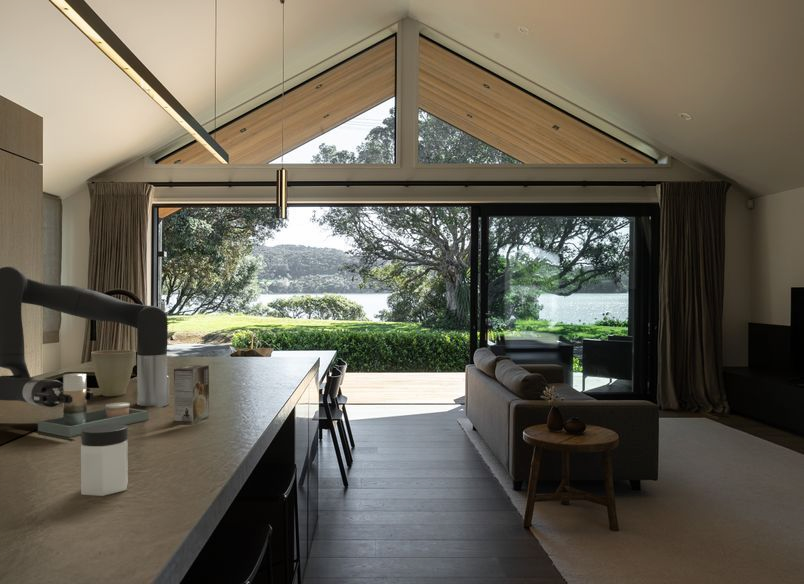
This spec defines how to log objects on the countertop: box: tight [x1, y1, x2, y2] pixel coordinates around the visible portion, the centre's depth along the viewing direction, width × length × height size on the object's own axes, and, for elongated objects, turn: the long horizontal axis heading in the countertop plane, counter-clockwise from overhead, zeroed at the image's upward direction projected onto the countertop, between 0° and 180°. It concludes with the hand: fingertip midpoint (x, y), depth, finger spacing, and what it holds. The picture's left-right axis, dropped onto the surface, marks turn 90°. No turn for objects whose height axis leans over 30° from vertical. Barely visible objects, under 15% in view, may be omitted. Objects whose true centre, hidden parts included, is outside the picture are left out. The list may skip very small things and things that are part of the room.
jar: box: [80, 424, 129, 497], centre depth 121 cm, size 9×8×12 cm
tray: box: [37, 407, 150, 442], centre depth 174 cm, size 24×14×4 cm, turn 150°
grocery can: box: [62, 372, 88, 426], centre depth 169 cm, size 6×6×14 cm
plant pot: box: [90, 349, 137, 397], centre depth 229 cm, size 15×15×16 cm
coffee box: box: [173, 364, 210, 426], centre depth 183 cm, size 9×6×16 cm
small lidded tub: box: [105, 401, 131, 419], centre depth 180 cm, size 6×6×5 cm
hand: (80, 397), depth 167 cm, fingers closed on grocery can, 5 cm apart
